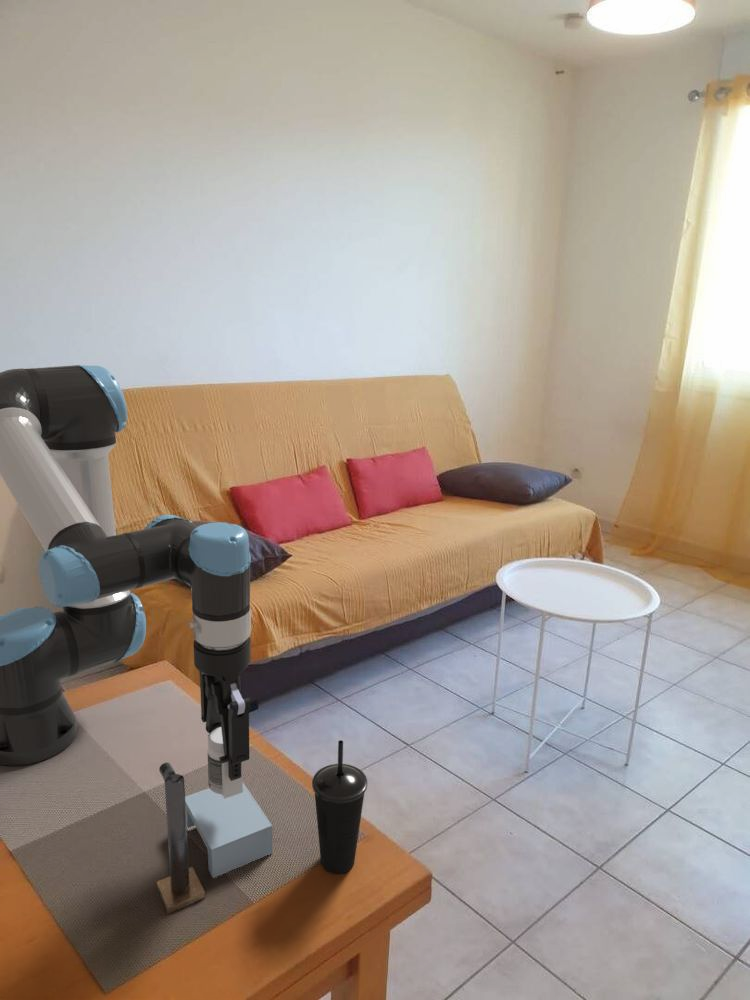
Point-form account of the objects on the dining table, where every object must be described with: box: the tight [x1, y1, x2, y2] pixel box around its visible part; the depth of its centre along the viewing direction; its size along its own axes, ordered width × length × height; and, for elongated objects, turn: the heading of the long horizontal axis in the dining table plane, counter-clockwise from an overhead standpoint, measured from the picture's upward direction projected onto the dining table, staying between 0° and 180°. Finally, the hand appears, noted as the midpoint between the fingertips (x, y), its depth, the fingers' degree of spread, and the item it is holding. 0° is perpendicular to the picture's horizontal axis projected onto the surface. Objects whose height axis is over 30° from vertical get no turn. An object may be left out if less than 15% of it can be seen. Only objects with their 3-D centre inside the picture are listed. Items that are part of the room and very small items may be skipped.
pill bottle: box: [207, 727, 224, 795], centre depth 102 cm, size 5×5×8 cm
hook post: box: [155, 762, 206, 915], centre depth 95 cm, size 6×5×18 cm
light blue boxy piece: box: [185, 782, 273, 879], centre depth 106 cm, size 12×9×5 cm
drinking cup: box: [311, 740, 368, 875], centre depth 100 cm, size 8×8×20 cm
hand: (225, 782), depth 103 cm, fingers closed on pill bottle, 5 cm apart
